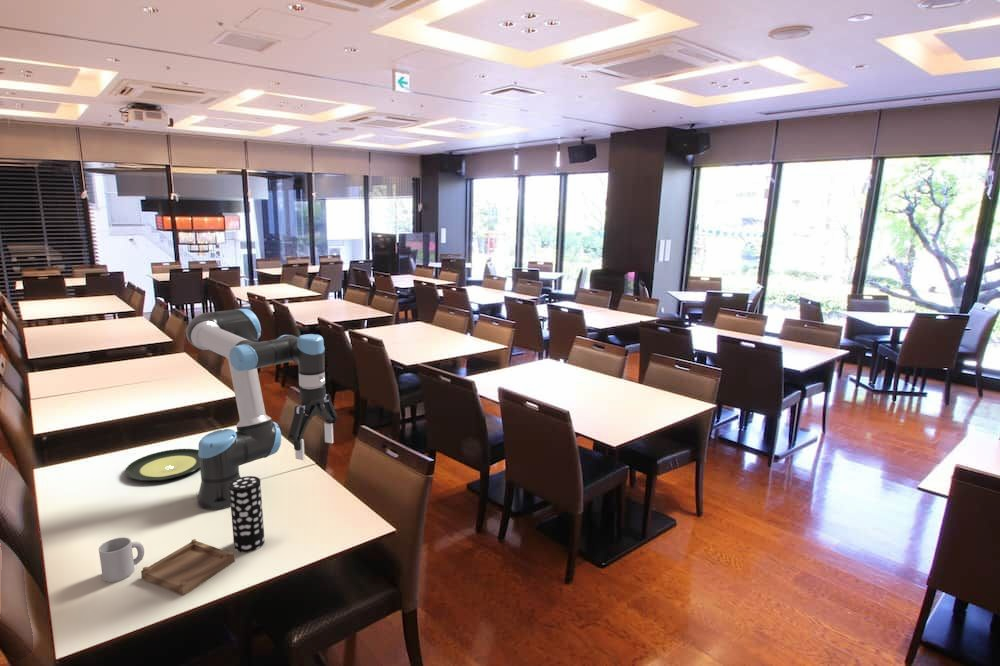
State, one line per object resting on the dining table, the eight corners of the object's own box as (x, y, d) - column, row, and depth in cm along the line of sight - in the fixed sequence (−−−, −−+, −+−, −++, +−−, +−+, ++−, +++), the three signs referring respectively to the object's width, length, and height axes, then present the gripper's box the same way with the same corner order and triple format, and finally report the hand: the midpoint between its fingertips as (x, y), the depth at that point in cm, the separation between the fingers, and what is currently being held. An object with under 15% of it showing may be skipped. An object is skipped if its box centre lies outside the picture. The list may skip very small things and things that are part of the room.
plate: (188, 448, 232) (188, 442, 232) (223, 466, 217) (223, 460, 216) (112, 471, 210) (111, 465, 210) (145, 493, 194) (144, 487, 194)
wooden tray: (142, 578, 149) (140, 569, 148) (195, 547, 163) (194, 538, 163) (183, 595, 143) (182, 585, 142) (234, 561, 157) (233, 552, 156)
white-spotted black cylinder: (245, 555, 160) (240, 492, 156) (228, 546, 164) (222, 484, 160) (270, 542, 167) (266, 480, 163) (253, 533, 171) (248, 473, 167)
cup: (100, 574, 151) (95, 544, 149) (142, 558, 158) (138, 530, 156) (106, 586, 146) (101, 556, 144) (149, 570, 153) (146, 541, 151)
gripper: (293, 399, 155) (297, 469, 160) (347, 376, 178) (349, 438, 183) (272, 395, 158) (276, 464, 162) (328, 373, 181) (330, 434, 185)
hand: (315, 450), depth 173 cm, fingers open, 13 cm apart
